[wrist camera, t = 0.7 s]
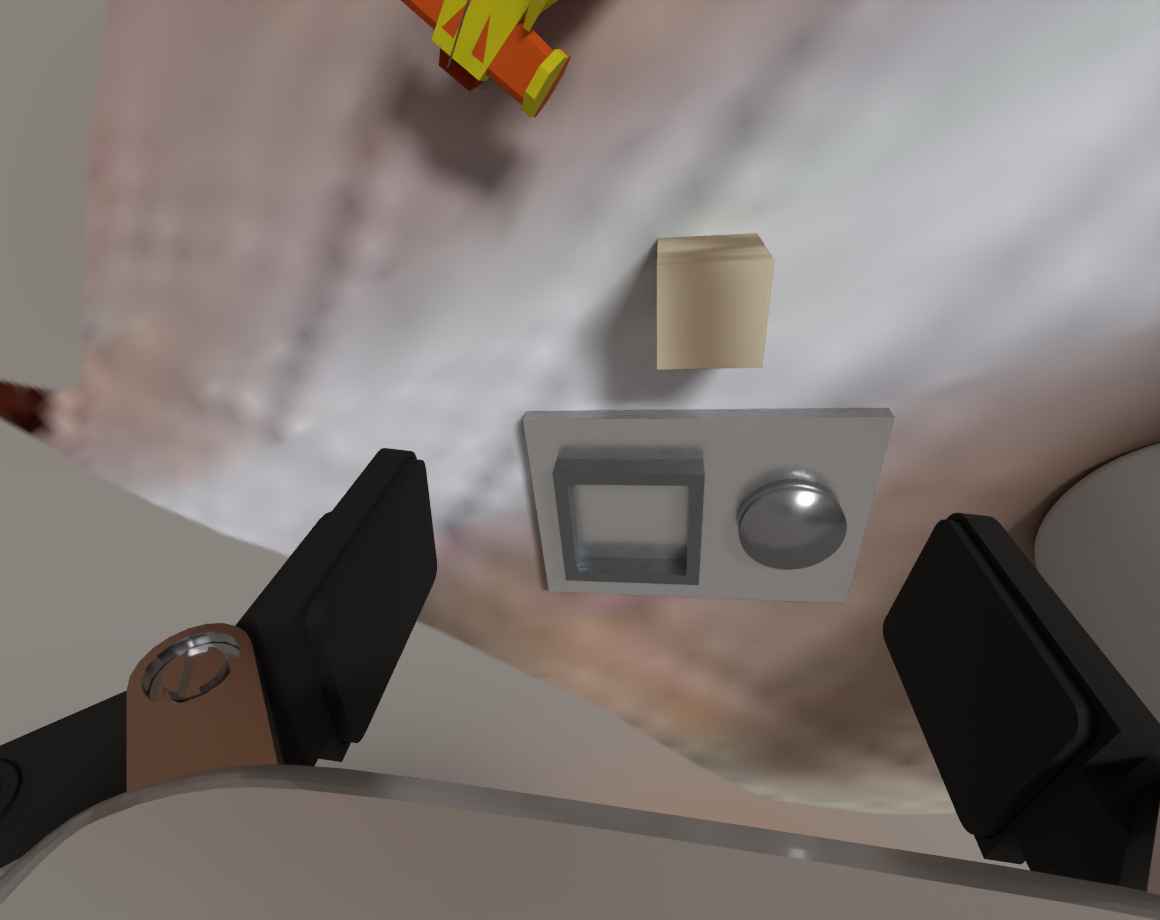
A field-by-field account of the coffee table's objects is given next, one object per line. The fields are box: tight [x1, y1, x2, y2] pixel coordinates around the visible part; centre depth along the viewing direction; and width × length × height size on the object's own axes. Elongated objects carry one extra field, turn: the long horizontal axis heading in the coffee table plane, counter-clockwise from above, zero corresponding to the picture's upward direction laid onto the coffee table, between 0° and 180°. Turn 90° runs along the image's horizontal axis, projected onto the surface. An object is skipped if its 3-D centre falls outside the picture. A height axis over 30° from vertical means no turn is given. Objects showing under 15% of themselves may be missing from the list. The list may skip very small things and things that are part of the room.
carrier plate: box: [523, 408, 895, 603], centre depth 34 cm, size 20×14×2 cm
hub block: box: [657, 233, 774, 370], centre depth 26 cm, size 5×5×5 cm
